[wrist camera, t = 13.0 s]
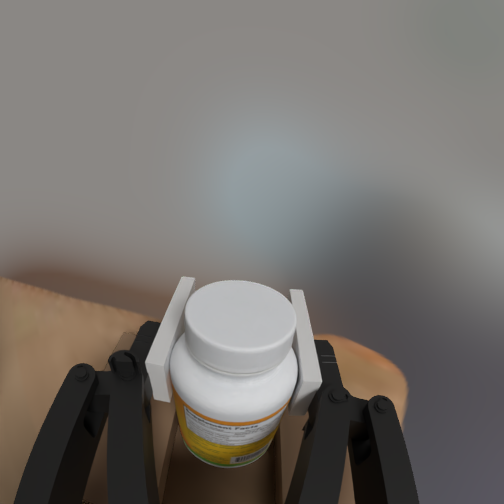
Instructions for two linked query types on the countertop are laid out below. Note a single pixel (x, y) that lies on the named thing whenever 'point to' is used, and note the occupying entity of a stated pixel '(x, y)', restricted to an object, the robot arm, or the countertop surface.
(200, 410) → the supplement bottle
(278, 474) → the u-shaped block
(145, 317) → the countertop surface
